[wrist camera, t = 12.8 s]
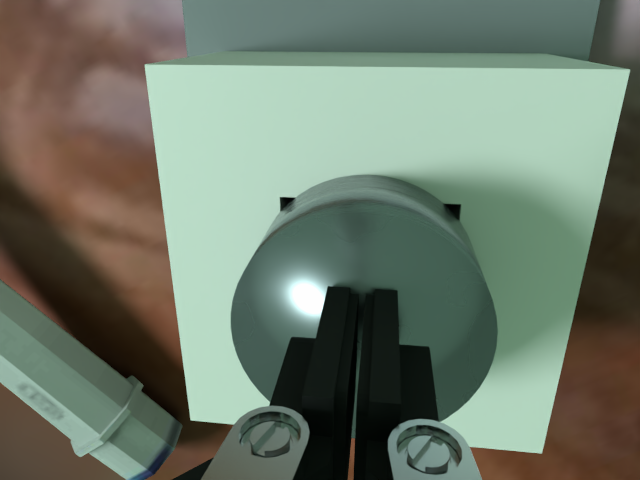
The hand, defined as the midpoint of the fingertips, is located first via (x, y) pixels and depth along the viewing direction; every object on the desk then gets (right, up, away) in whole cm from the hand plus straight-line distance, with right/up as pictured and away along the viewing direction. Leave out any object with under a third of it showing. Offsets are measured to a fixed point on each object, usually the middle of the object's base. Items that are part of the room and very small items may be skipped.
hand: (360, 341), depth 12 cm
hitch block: (+1, +4, +10) cm, 11 cm away
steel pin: (+1, +4, +8) cm, 9 cm away
